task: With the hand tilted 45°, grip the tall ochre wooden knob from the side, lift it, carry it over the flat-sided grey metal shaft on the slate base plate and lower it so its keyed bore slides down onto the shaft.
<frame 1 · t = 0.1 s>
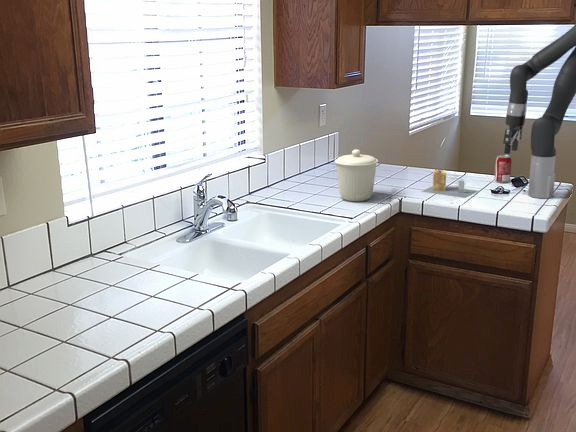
hand: (510, 152, 269), 17 cm above the worktop, tool pointing down, fingers open, 8 cm apart
metal shaft: (460, 196, 269), resting on slate base plate
ochre knob: (438, 189, 274), point 1 cm above the worktop, touching slate base plate
soda can: (502, 182, 291), on the worktop
slate base plate: (449, 194, 272), on the worktop
canister: (356, 199, 270), on the worktop
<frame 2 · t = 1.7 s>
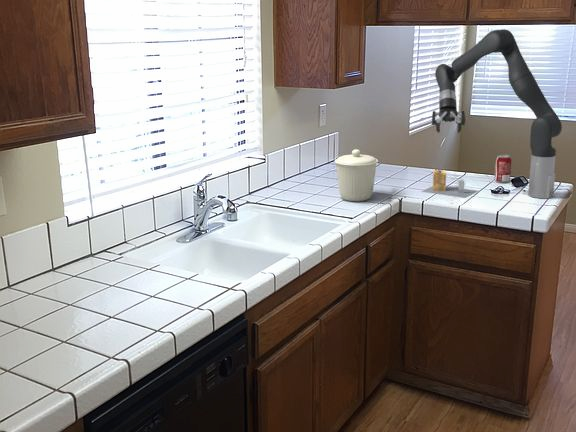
hand: (448, 131, 279), 25 cm above the worktop, tool tilted 45°, fingers open, 8 cm apart
nothing on the worktop moved.
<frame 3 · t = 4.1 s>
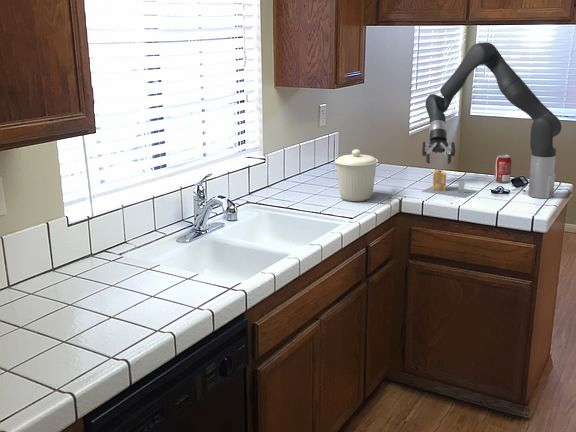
hand: (438, 163, 278), 12 cm above the worktop, tool tilted 45°, fingers open, 8 cm apart
nothing on the worktop moved.
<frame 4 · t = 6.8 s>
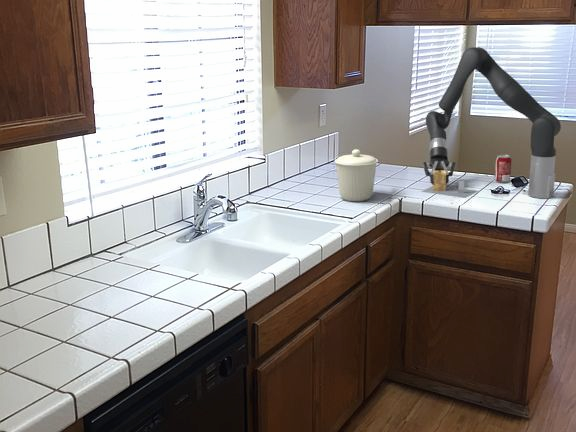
hand: (439, 183, 272), 5 cm above the worktop, tool tilted 45°, fingers closed on ochre knob, 5 cm apart
ochre knob: (438, 189, 274), point 2 cm above the worktop, touching gripper, slate base plate
everything else where it was.
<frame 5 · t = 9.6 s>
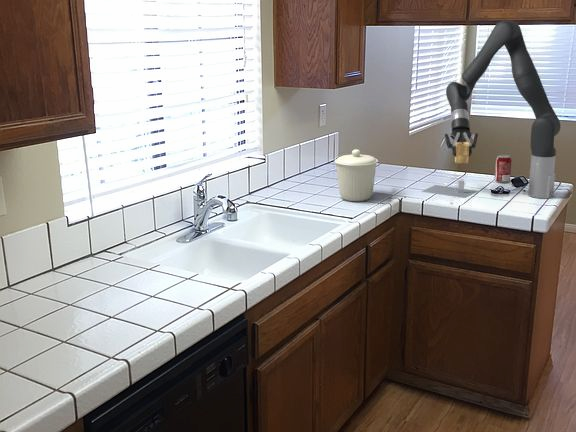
hand: (462, 155, 262), 18 cm above the worktop, tool tilted 45°, fingers closed on ochre knob, 5 cm apart
ochre knob: (461, 162, 265), point 15 cm above the worktop, touching gripper
everything else where it was.
when the fingers open (6 cm above the worktop, at t = 12.8 s): ochre knob drops 1 cm, resting on slate base plate.
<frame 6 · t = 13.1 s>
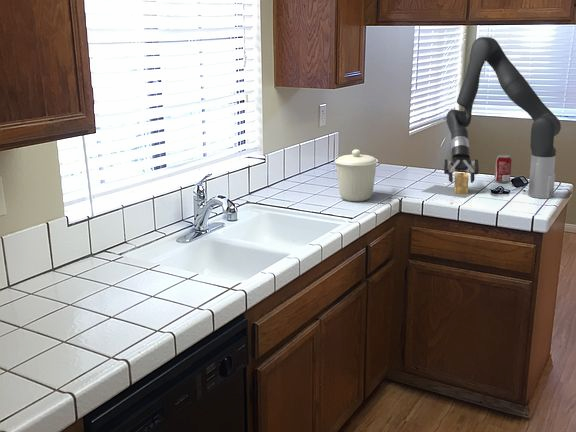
hand: (461, 181, 265), 7 cm above the worktop, tool tilted 45°, fingers open, 8 cm apart
ochre knob: (460, 192, 268), point 1 cm above the worktop, touching slate base plate
everything else where it was.
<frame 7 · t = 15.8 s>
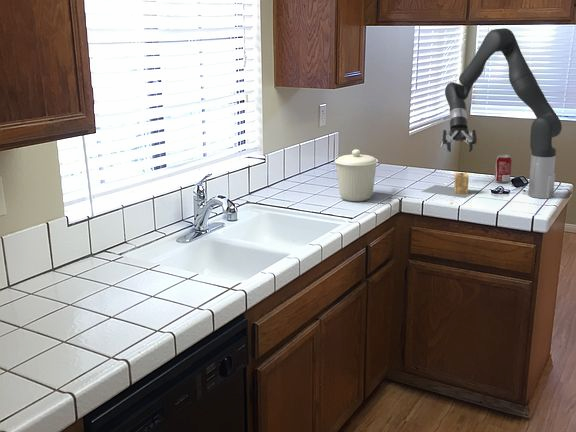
hand: (460, 151, 275), 17 cm above the worktop, tool tilted 45°, fingers open, 8 cm apart
nothing on the worktop moved.
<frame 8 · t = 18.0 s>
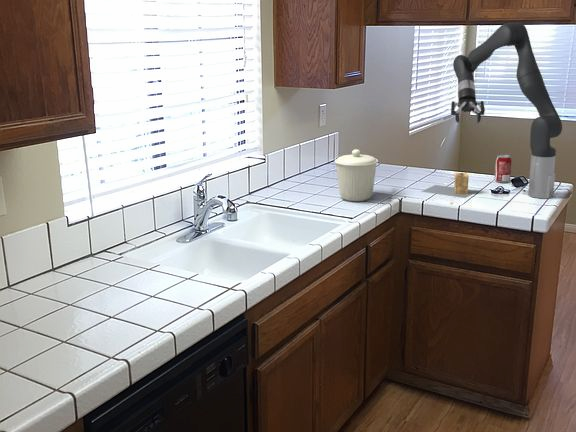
hand: (468, 121, 278), 29 cm above the worktop, tool tilted 45°, fingers open, 8 cm apart
nothing on the worktop moved.
at the end: ochre knob 0.1 cm from the metal shaft (horizontally); ochre knob point 1.5 cm above the worktop; the gripper is holding nothing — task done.
